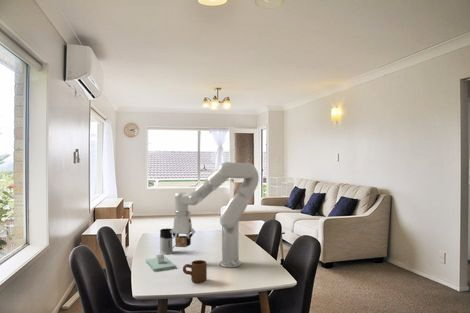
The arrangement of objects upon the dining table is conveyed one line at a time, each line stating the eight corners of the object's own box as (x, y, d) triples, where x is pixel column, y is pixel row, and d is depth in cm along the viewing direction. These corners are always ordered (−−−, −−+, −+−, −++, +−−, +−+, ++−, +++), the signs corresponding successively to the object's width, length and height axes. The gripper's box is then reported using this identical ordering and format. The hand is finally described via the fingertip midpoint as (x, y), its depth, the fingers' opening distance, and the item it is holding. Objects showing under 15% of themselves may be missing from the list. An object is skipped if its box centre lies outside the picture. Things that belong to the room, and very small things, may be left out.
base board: (175, 268, 195) (175, 265, 195) (154, 271, 190) (154, 268, 190) (165, 259, 213) (165, 256, 213) (145, 262, 208) (145, 259, 208)
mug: (184, 286, 168) (184, 266, 168) (181, 280, 175) (180, 262, 175) (208, 282, 173) (208, 263, 173) (204, 277, 180) (204, 259, 180)
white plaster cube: (164, 262, 201) (164, 255, 201) (157, 263, 199) (157, 256, 199) (162, 261, 204) (162, 254, 204) (156, 262, 202) (156, 255, 202)
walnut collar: (190, 244, 206) (190, 236, 206) (185, 247, 200) (185, 238, 200) (180, 244, 208) (180, 235, 208) (175, 246, 202) (175, 238, 202)
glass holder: (165, 250, 234) (164, 227, 234) (182, 252, 227) (182, 229, 228) (156, 253, 226) (156, 230, 226) (174, 256, 220) (174, 232, 220)
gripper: (198, 213, 205) (199, 243, 205) (171, 212, 211) (172, 242, 211) (192, 215, 198) (194, 246, 198) (165, 214, 204) (166, 245, 203)
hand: (183, 244), depth 204 cm, fingers closed on walnut collar, 6 cm apart
